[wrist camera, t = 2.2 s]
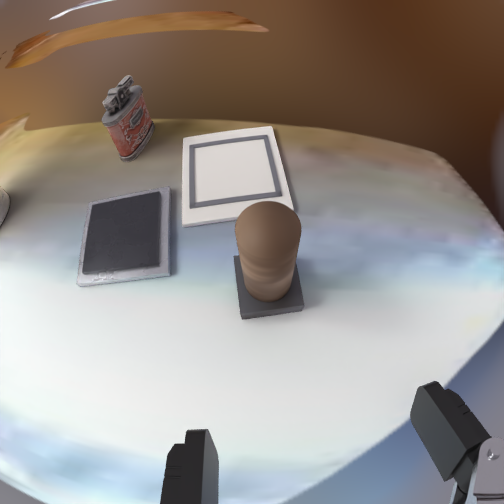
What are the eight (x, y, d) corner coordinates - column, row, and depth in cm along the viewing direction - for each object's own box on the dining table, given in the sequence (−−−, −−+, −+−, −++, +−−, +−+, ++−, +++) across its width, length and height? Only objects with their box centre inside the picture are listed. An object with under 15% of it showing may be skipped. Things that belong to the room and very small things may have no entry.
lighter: (135, 162, 38) (109, 106, 29) (116, 161, 38) (88, 107, 29) (159, 124, 41) (141, 70, 32) (140, 123, 41) (121, 72, 33)
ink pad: (80, 286, 30) (73, 282, 29) (91, 206, 35) (86, 199, 33) (170, 275, 30) (166, 270, 29) (171, 190, 35) (168, 183, 34)
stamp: (242, 319, 28) (228, 274, 18) (235, 264, 30) (220, 198, 20) (301, 310, 28) (321, 261, 18) (291, 257, 30) (301, 188, 21)
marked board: (183, 227, 32) (181, 223, 32) (184, 141, 39) (183, 137, 38) (293, 212, 33) (293, 208, 32) (271, 129, 39) (271, 125, 38)
